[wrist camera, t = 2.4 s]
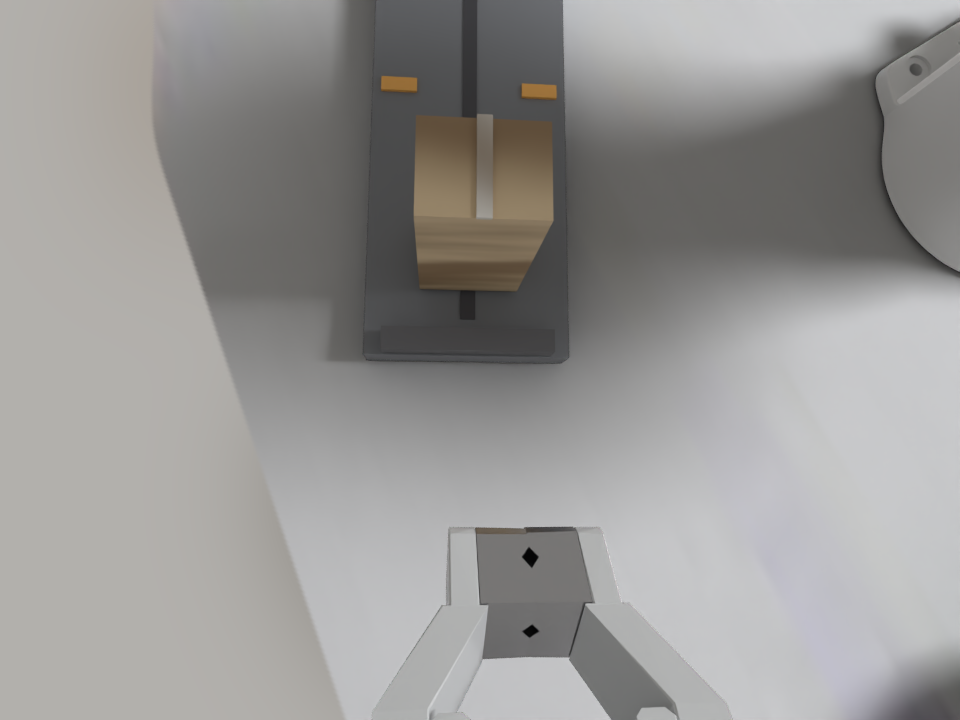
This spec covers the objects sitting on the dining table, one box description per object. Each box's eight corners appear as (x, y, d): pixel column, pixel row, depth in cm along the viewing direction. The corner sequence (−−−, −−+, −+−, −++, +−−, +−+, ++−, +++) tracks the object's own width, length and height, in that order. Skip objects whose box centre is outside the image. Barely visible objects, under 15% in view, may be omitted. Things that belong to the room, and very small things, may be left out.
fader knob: (516, 292, 32) (554, 219, 22) (419, 290, 32) (413, 214, 22) (516, 220, 33) (552, 117, 23) (421, 216, 32) (416, 110, 22)
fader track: (561, 363, 34) (574, 354, 31) (367, 360, 33) (360, 350, 30) (555, -25, 38) (566, -68, 35) (380, -37, 37) (376, -82, 34)
